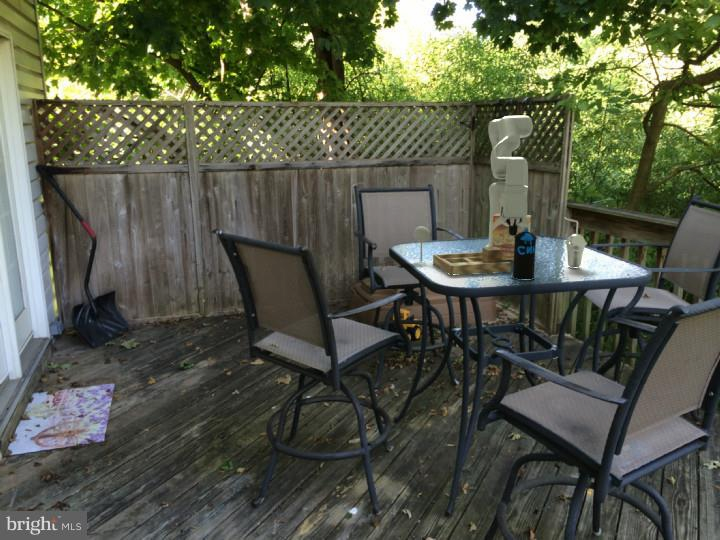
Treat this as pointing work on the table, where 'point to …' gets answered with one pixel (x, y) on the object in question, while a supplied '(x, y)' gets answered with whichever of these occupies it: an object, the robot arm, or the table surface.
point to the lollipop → (421, 235)
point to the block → (491, 255)
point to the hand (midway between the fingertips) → (512, 235)
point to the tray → (468, 264)
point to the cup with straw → (575, 247)
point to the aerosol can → (524, 254)
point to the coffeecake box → (506, 235)
